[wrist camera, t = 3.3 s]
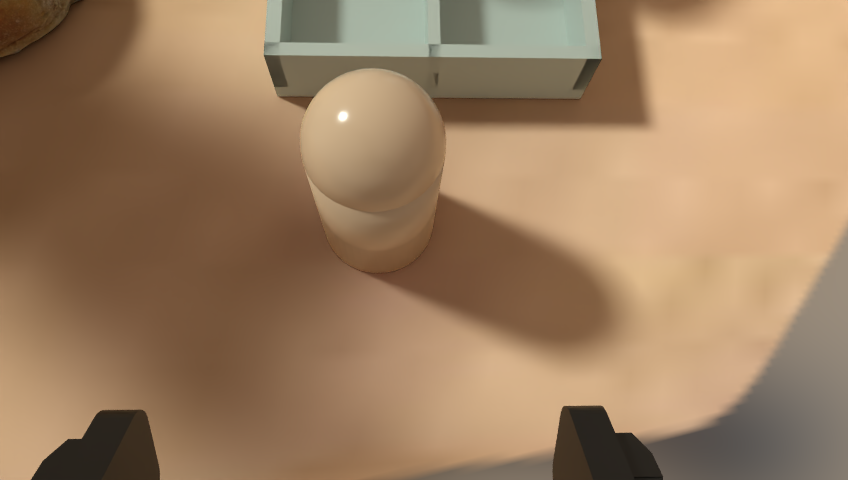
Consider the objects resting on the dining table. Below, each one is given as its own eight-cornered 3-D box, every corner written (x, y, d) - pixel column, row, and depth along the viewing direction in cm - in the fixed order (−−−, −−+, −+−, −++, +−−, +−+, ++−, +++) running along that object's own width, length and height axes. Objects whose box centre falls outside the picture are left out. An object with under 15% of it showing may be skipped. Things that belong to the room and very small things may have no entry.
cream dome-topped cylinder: (303, 239, 27) (256, 131, 18) (360, 153, 28) (344, 12, 19) (398, 293, 26) (400, 211, 17) (452, 202, 27) (480, 82, 18)
